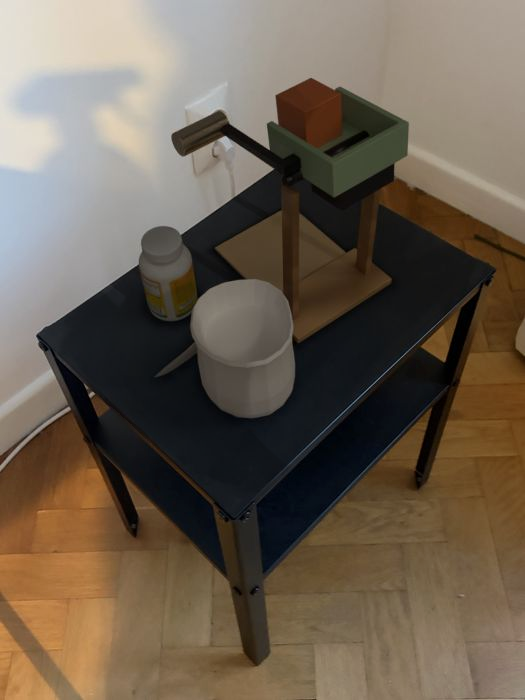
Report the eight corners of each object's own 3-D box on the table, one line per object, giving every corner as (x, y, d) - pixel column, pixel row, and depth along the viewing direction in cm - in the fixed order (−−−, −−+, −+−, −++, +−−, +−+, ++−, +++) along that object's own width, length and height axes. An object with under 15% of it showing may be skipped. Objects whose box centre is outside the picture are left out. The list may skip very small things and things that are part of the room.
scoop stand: (262, 308, 78) (255, 179, 63) (354, 252, 82) (366, 119, 68) (298, 343, 75) (298, 216, 60) (391, 283, 79) (412, 151, 65)
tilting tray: (179, 174, 67) (167, 122, 63) (310, 107, 73) (307, 55, 69) (279, 252, 59) (272, 197, 55) (420, 169, 64) (424, 113, 60)
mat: (346, 255, 82) (346, 253, 81) (268, 303, 78) (268, 300, 78) (290, 207, 87) (290, 204, 86) (214, 250, 83) (214, 247, 83)
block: (307, 154, 63) (279, 136, 65) (342, 135, 64) (313, 118, 66) (304, 112, 60) (274, 95, 62) (341, 93, 61) (311, 77, 63)
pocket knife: (255, 308, 78) (254, 296, 76) (261, 313, 77) (260, 300, 76) (152, 380, 73) (149, 368, 71) (157, 385, 72) (154, 374, 71)
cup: (253, 324, 76) (248, 260, 68) (319, 383, 72) (322, 321, 64) (181, 375, 73) (167, 314, 65) (245, 440, 68) (239, 383, 60)
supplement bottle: (147, 324, 77) (130, 261, 69) (150, 285, 80) (134, 222, 72) (198, 321, 77) (187, 258, 69) (199, 283, 80) (188, 219, 72)
